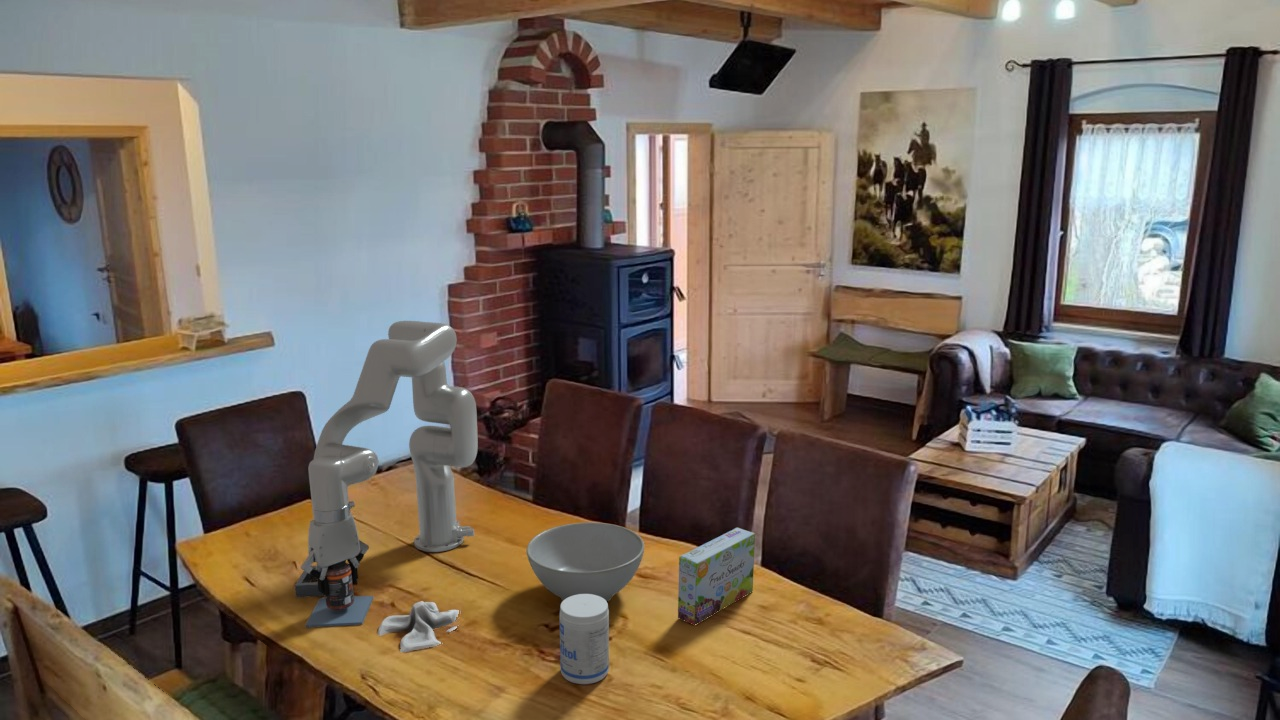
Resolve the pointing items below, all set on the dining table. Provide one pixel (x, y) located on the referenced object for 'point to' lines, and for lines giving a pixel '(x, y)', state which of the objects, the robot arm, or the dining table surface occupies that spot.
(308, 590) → the collar
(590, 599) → the supplement tub
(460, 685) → the dining table surface
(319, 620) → the board
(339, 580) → the supplement bottle
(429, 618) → the cloth
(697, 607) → the snack box
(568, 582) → the decorative bowl
